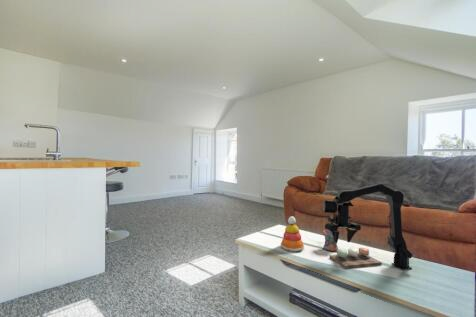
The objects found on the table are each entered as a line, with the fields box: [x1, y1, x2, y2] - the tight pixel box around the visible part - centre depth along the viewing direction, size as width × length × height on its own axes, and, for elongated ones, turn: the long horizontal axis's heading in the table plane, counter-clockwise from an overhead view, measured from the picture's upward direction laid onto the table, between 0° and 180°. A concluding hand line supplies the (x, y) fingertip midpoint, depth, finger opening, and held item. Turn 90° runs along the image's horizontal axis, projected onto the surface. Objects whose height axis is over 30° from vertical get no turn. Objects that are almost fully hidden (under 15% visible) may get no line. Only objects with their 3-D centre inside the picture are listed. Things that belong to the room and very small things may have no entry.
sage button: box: [336, 248, 348, 257], centre depth 126 cm, size 5×5×2 cm
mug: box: [322, 229, 339, 252], centre depth 145 cm, size 12×9×11 cm
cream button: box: [347, 247, 359, 256], centre depth 128 cm, size 5×5×2 cm
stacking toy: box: [280, 215, 305, 252], centre depth 144 cm, size 14×14×20 cm
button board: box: [329, 252, 383, 270], centre depth 127 cm, size 22×13×2 cm, turn 104°
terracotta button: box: [358, 247, 370, 256], centre depth 130 cm, size 5×5×2 cm
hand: (342, 242), depth 126 cm, fingers open, 7 cm apart
